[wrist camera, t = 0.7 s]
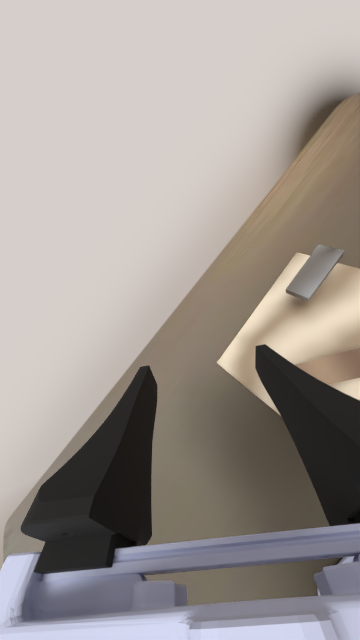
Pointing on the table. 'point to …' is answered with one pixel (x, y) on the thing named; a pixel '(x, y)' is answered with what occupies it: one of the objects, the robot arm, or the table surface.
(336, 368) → the brown long round-headed piece
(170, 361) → the table surface
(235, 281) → the table surface
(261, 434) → the table surface
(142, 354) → the table surface
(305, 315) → the plate
